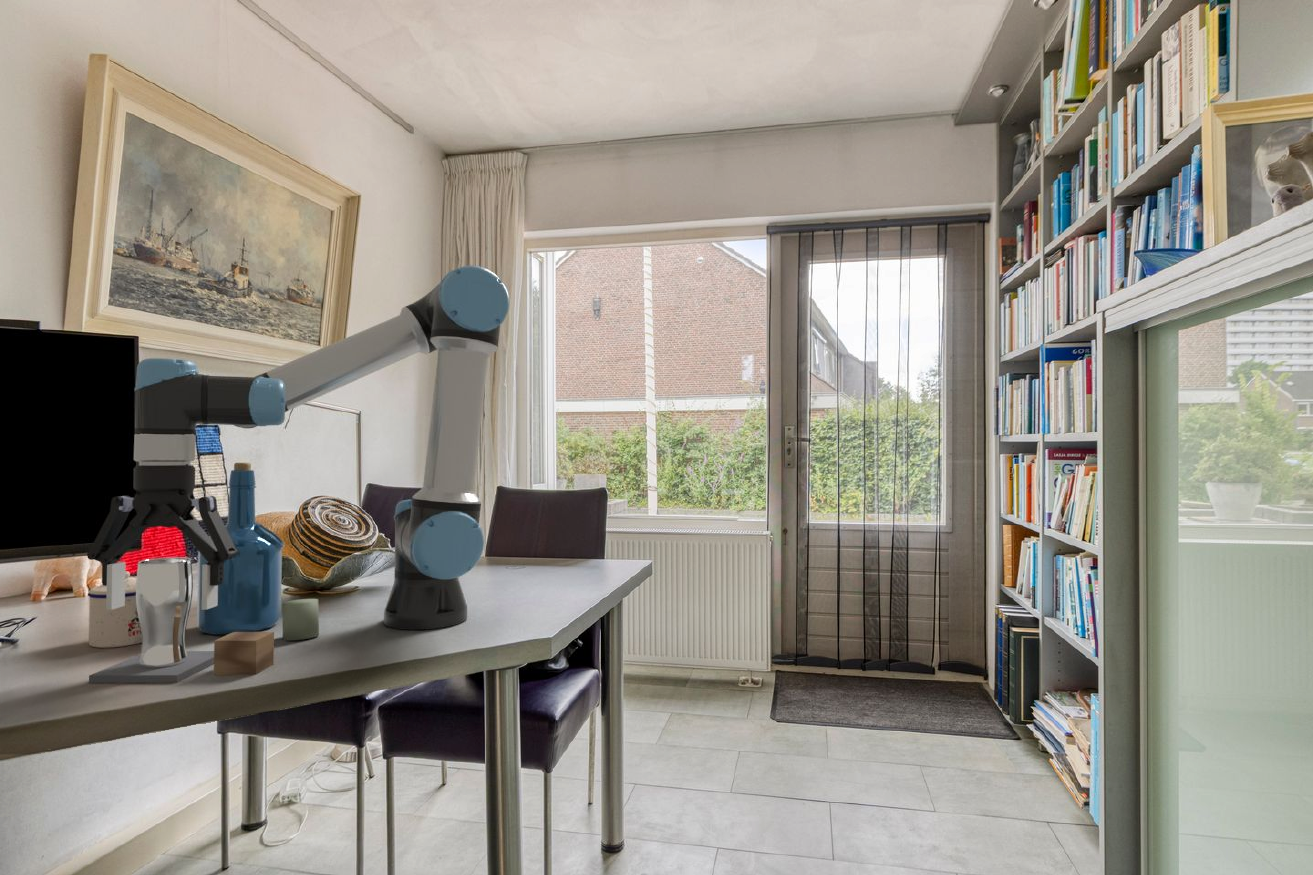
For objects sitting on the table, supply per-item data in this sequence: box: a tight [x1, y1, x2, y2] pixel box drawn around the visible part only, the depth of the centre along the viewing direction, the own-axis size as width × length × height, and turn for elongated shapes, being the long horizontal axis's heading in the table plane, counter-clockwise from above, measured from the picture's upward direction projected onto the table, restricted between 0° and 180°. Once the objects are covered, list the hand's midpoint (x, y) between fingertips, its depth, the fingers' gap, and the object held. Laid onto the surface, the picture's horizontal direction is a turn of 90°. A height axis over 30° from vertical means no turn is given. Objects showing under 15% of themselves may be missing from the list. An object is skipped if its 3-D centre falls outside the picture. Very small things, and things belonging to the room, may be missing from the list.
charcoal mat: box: [88, 650, 214, 684], centre depth 105 cm, size 12×12×1 cm
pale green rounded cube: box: [281, 598, 320, 641], centre depth 124 cm, size 6×6×6 cm
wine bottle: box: [196, 462, 285, 636], centre depth 131 cm, size 14×13×30 cm
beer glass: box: [136, 556, 194, 668], centre depth 106 cm, size 7×7×15 cm
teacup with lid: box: [87, 570, 142, 649], centre depth 122 cm, size 12×9×12 cm
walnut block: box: [213, 631, 275, 676], centre depth 106 cm, size 6×5×5 cm
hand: (162, 607), depth 106 cm, fingers open, 13 cm apart
